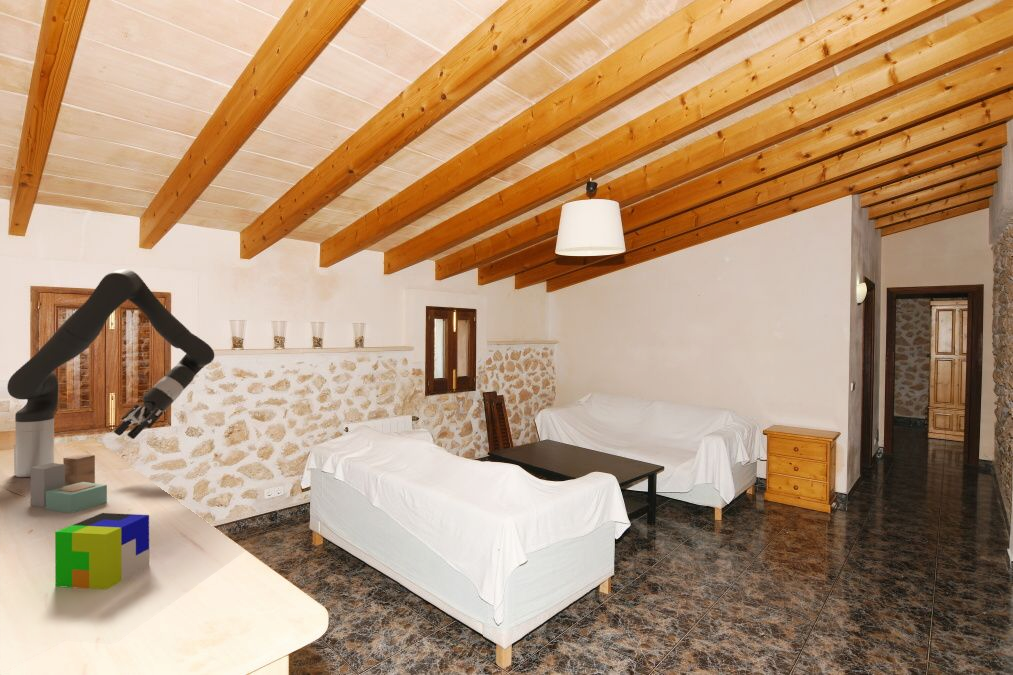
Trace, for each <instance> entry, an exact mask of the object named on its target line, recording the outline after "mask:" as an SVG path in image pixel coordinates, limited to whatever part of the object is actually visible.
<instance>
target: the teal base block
mask: <svg viewBox="0 0 1013 675" xmlns="http://www.w3.org/2000/svg"><path fill="white" fill-rule="evenodd" d="M105 502H106V503H108V485H107V484H103V483H96V482H95V483H88V482H80V483H76V484H72V485H68V486H64V487H61V488H57V489H53V490H49V491H46V507H45V510H46V511H47V510H48V511H54V512H60V513H67V514H73V513H77V512H80V511H82V510H85V509H89V508H93V507H95V506H99V505H102V504H106V503H105Z"/></svg>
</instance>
